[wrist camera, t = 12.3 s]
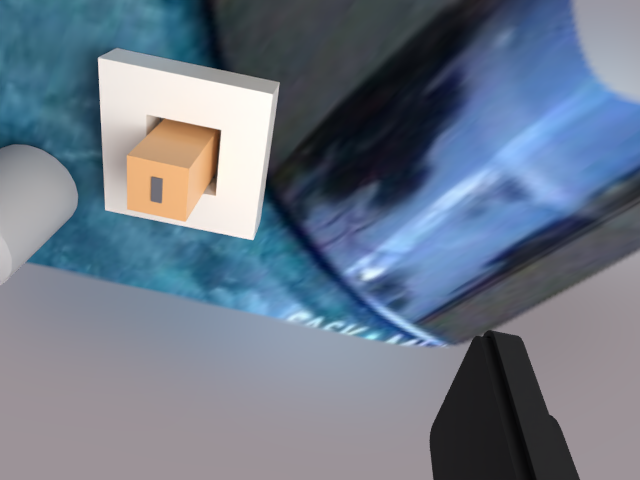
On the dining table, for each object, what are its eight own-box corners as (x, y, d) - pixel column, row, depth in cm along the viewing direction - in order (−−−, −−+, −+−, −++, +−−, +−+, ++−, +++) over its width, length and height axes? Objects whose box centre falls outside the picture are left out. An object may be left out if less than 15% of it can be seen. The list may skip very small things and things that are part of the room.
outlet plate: (116, 48, 37) (97, 57, 35) (279, 82, 37) (273, 94, 35) (120, 193, 44) (105, 210, 41) (260, 221, 44) (253, 240, 41)
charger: (169, 114, 39) (126, 156, 32) (220, 126, 39) (188, 169, 33) (167, 161, 41) (126, 210, 35) (215, 172, 42) (185, 222, 35)
